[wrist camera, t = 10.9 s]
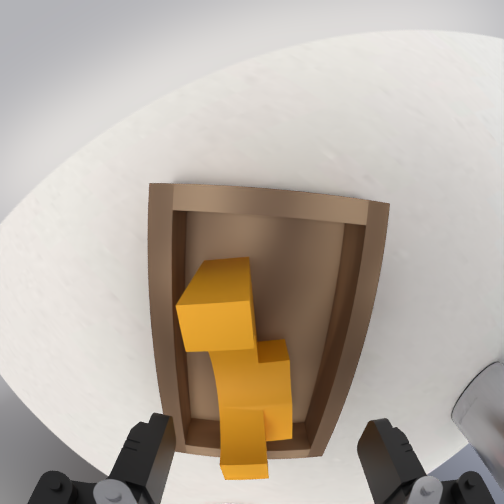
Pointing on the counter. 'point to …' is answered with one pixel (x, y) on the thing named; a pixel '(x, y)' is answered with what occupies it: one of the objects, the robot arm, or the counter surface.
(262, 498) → the counter surface
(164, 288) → the wooden tray
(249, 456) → the pipe clamp
